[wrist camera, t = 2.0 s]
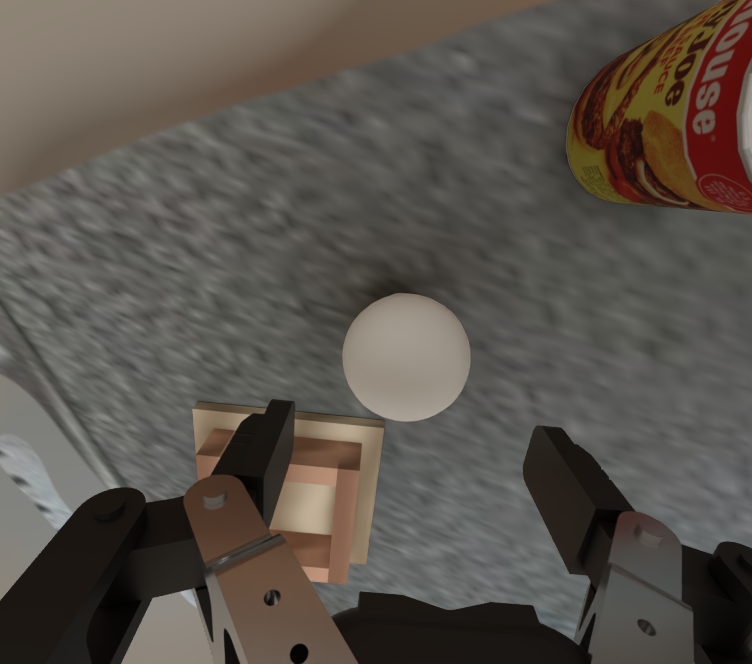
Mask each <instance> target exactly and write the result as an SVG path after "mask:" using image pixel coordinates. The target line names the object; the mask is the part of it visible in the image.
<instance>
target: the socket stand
mask: <svg viewBox="0 0 752 664" xmlns="http://www.w3.org/2000/svg"><path fill="white" fill-rule="evenodd" d="M265 411H266V408H257V407H247V406H237V405H227V404H217V403H208V402H198V403H197V404H196V405H195V407H194V408H193V421H194V434H195V448H196V462H197V476H198V481H199V480H201V479H203V478H206V477H209V476H210V475H211V473H212V471H213V470H214V468H215V466H216V464H217V463H218V461H219V459H220V457H221V456H222V454H223V452H224V451H225V449H226V447H227V445H228V444H229V443H230V440H231V438H232V437H233V435H235V431H236V430H237V428H238V426H239V425H240V423H241V421H243V420H244V419H245V418H247V417H248V416H250V415H251V414H252V413H258V414H264V413H265ZM383 435H384V420H374V419H364V418H355V417H345V416H335V415H325V414H315V413H306V412H296V411H295V426H294V446H293V453H292V458H291V461H290V464H289V468H288V471H287V474H286V477H285V480H284V483H283V487H282V490H281V493H280V496H279V499H278V502H277V505H276V509H275V512H274V515H273V518H272V521H271V524H270V527H269V532H270V533H271V535H272V536H275V535H277V534H281V535H282V536H283V537H284V538H285V539H286V541H287V542H288V544H289V546H290V548H291V549H292V551H293V553H294V554H295V556H296V558H297V560H298V561H299V563H300V565H301V566H302V568H303V570H304V572H305V573H306V575H307V577H308V578H309V580H310V581H316V582H327V583H338V584H347V578H348V570H349V563H356V564H366V560H367V552H368V545H369V538H370V530H371V523H372V516H373V508H374V501H375V494H376V486H377V479H378V472H379V464H380V457H381V450H382V442H383Z"/></svg>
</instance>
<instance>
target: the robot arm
mask: <svg viewBox="0 0 752 664" xmlns="http://www.w3.org/2000/svg"><path fill="white" fill-rule="evenodd" d="M294 426H295V402H294V401H285V400H275V399H272V400H271V401H270V403H269V405H268V407H267V409H266V411H265V413H264V414H258V413H252V414H251V415H250V416H248V417H247V418H245V419H244V420H243V421H241V423H240V425H239V426H238V428H237V430H236V431H235V435H233V437H232V438H231V440H230V443H229V444H228V445H227V447H226V449H225V451H224V452H223V454H222V456H221V457H220V459H219V461H218V463H217V464H216V466H215V468H214V470H213V471H212V473H211V475H210V476H209V477H206V478H203V479H201V480H199V481H197V482H196V483H194V484H193V485H192V486H191V487H190V488H189V489H188V490H187V492H186V493H185V495H184V496H181V497H178V498H173V499H167V500H161V501H154V502H148V503H146V500H145V496H144V495H143V493H142V492H140V491H139V490H137V489H134V488H127V487H123V488H114V489H110V490H107V491H104V492H101V493H99V494H97V495H95V496H93V497H91V498H90V499H88V500H87V501H85V502H84V503H83V504H82V505H81V506H80V507H79V508H78V509H77V510H76V511H75V512H74V513H73V515H72V516H71V517H70V518H69V519H68V521H67V522H66V523H65V524H64V525H63V527H62V528H61V529H60V530H59V531H58V532H57V534H56V535H55V536H54V537H53V539H52V540H51V541H50V542H49V543H48V544H47V546H46V547H45V548H44V549H43V550H42V552H41V553H40V554H39V555H38V557H37V558H36V559H35V560H34V561H33V562H32V563H31V565H30V566H29V567H28V568H27V569H26V571H25V572H24V573H23V574H22V575H21V577H20V578H19V579H18V580H17V581H16V583H15V584H14V585H13V586H12V587H11V589H10V590H9V591H8V592H7V593H6V594H5V596H4V597H3V598H2V599H1V601H0V664H121V662H122V660H123V658H124V656H125V654H126V652H127V650H128V648H129V646H130V644H131V642H132V640H133V637H134V635H135V633H136V631H137V629H138V627H139V625H140V623H141V621H142V618H143V617H144V615H145V613H146V610H147V608H148V606H149V604H150V602H151V600H152V598H154V597H159V596H163V595H167V594H171V593H175V592H180V591H184V590H189V589H192V591H193V595H194V598H195V601H196V604H197V608H198V611H199V614H200V617H201V621H202V624H203V627H204V631H205V633H206V637H207V640H208V644H209V647H210V650H211V653H212V657H213V662H214V664H694V663H695V664H752V548H750V547H747V546H745V545H742V544H739V543H735V542H722V543H720V544H719V545H718V546H717V548H716V550H715V551H714V553H713V555H712V554H709V553H706V552H703V551H700V550H697V549H694V548H691V547H688V546H685V545H682V544H681V543H680V541H679V539H678V538H677V536H676V535H675V534H674V533H673V532H672V531H671V530H670V529H669V528H668V527H666V526H665V525H664V524H662V523H661V522H659V521H658V520H656V519H654V518H652V517H650V516H648V515H646V514H643V513H639V512H636V511H635V510H634V509H633V508H632V506H631V505H630V504H629V502H628V501H627V500H626V499H625V497H624V496H623V495H622V493H621V492H620V491H619V490H618V488H617V487H616V486H615V485H614V483H613V482H612V481H611V480H609V477H608V476H607V474H606V473H605V472H604V470H601V467H600V465H599V464H598V463H597V462H596V460H595V459H594V458H593V456H592V455H591V454H589V453H588V452H587V451H585V450H584V449H583V448H581V447H580V446H579V445H577V444H574V443H573V442H572V440H571V439H570V438H569V436H568V435H567V434H566V432H565V431H564V430H563V429H562V428H559V427H549V426H536V427H535V429H534V431H533V434H532V437H531V440H530V444H529V447H528V450H527V454H526V457H525V460H524V464H523V476H524V481H525V483H526V485H527V487H528V490H529V492H530V494H531V496H532V498H533V500H534V502H535V504H536V506H537V508H538V510H539V512H540V514H541V516H542V518H543V520H544V522H545V524H546V526H547V528H548V530H549V533H550V535H551V537H552V539H553V541H554V543H555V545H556V547H557V549H558V551H559V553H560V555H561V557H562V559H563V561H564V563H565V565H566V567H567V569H568V571H569V573H570V574H578V575H588V577H589V579H590V584H589V586H588V588H587V591H586V594H585V598H584V602H583V606H582V609H581V613H580V617H579V621H578V625H577V628H576V632H575V636H574V640H573V641H572V640H571V639H569V638H568V637H566V636H565V635H563V634H561V633H560V632H558V631H556V630H555V629H553V628H550V627H548V626H546V625H544V624H541V623H539V620H538V618H537V615H536V612H535V609H534V607H533V606H532V605H520V604H508V603H495V602H489V603H484V604H480V605H475V606H470V607H465V608H460V609H456V610H445V609H442V608H439V607H436V606H433V605H431V604H428V603H425V602H422V601H419V600H416V599H413V598H410V597H407V596H404V595H397V594H384V593H372V592H360V594H359V601H358V607H356V608H351V609H348V610H345V611H342V612H339V613H337V614H335V615H333V616H330V614H329V613H328V611H327V609H326V607H325V606H324V604H323V602H322V601H321V599H320V597H319V595H318V594H317V592H316V590H315V589H314V587H313V585H312V584H311V582H310V580H309V578H308V577H307V575H306V573H305V572H304V570H303V568H302V566H301V565H300V563H299V561H298V560H297V558H296V556H295V554H294V553H293V551H292V549H291V548H290V546H289V544H288V542H287V541H286V539H285V538H284V537H283V536H282V535H281V534H277V535H275V536H272V535H271V533H270V532H269V527H270V524H271V521H272V518H273V515H274V512H275V509H276V505H277V502H278V499H279V496H280V493H281V490H282V487H283V483H284V480H285V477H286V474H287V471H288V468H289V464H290V461H291V458H292V453H293V446H294Z"/></svg>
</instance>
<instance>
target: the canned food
mask: <svg viewBox="0 0 752 664" xmlns="http://www.w3.org/2000/svg"><path fill="white" fill-rule="evenodd" d="M566 153H567V158H568V163H569V167H570V169H571V171H572V173H573V175H574V177H575V179H576V181H577V182H578V183H579V184H580V185H581V186H582V187H583V188H584V189H585V190H586V191H587V192H588V193H590V194H592V195H594V196H596V197H598V198H600V199H602V200H606V201H611V202H617V203H627V204H638V205H650V206H661V207H673V208H684V209H695V210H707V211H718V212H730V213H741V214H752V0H724V1H722V2H720V3H718V4H716V5H714V6H712V7H710V8H709V9H707V10H705V11H703V12H701V13H699V14H697V15H696V16H694V17H692V18H690V19H688V20H686V21H684V22H682V23H681V24H679V25H677V26H675V27H673V28H671V29H669V30H667V31H666V32H664V33H662V34H660V35H658V36H656V37H654V38H653V39H651V40H649V41H647V42H645V43H643V44H641V45H639V46H638V47H636V48H634V49H632V50H630V51H628V52H626V53H625V54H623V55H621V56H619V57H617V58H616V59H614V60H613V61H612V62H610V63H609V64H607V65H606V66H605V67H603V68H602V69H601V70H599V71H598V72H597V74H596V75H595V76H594V77H593V78H592V79H591V80H590V82H589V83H588V84H587V85H586V86H585V87H584V89H583V90H582V92H581V94H580V96H579V98H578V99H577V101H576V103H575V105H574V107H573V109H572V112H571V116H570V119H569V122H568V126H567V133H566Z"/></svg>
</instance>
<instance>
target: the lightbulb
mask: <svg viewBox="0 0 752 664" xmlns="http://www.w3.org/2000/svg"><path fill="white" fill-rule="evenodd" d="M342 361H343V368H344V373H345V377H346V379H347V382H348V385H349V386H350V388H351V390H352V391H353V393H354V394H355V396H356V397H357V399H358V400H359V401H360V402H361V403H362V404H363V405H364V406H365V407H366V408H368V409H369V410H371V411H372V412H374V413H376V414H378V415H380V416H382V417H384V418H388V419H392V420H396V421H406V422H408V421H418V420H422V419H426V418H429V417H431V416H433V415H436V414H438V413H439V412H441V411H442V410H444V409H445V408H447V407H448V406H449V405H450V404H451V403H452V402H453V401H455V400H456V398H457V397H458V395H459V394H460V393H461V391H462V390H463V387H464V385H465V383H466V380H467V378H468V374H469V369H470V364H471V363H470V345H469V341H468V337H467V335H466V333H465V331H464V329H463V327H462V325H461V323H460V321H459V320H458V319H457V318H456V316H455V315H454V314H453V313H452V312H451V311H450V310H449V309H448V308H446V307H445V306H444V305H443V304H441V303H439V302H437V301H435V300H433V299H431V298H428V297H425V296H421V295H418V294H408V293H395V294H392V295H390V296H387V297H384V298H382V299H380V300H378V301H376V302H374V303H372V304H371V305H369V306H368V307H367V308H366V309H364V310H363V311H362V312H361V313H360V314H359V315H358V316H357V317H356V319H355V320H354V321H353V322H352V324H351V326H350V328H349V330H348V332H347V335H346V338H345V342H344V345H343V354H342Z"/></svg>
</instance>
